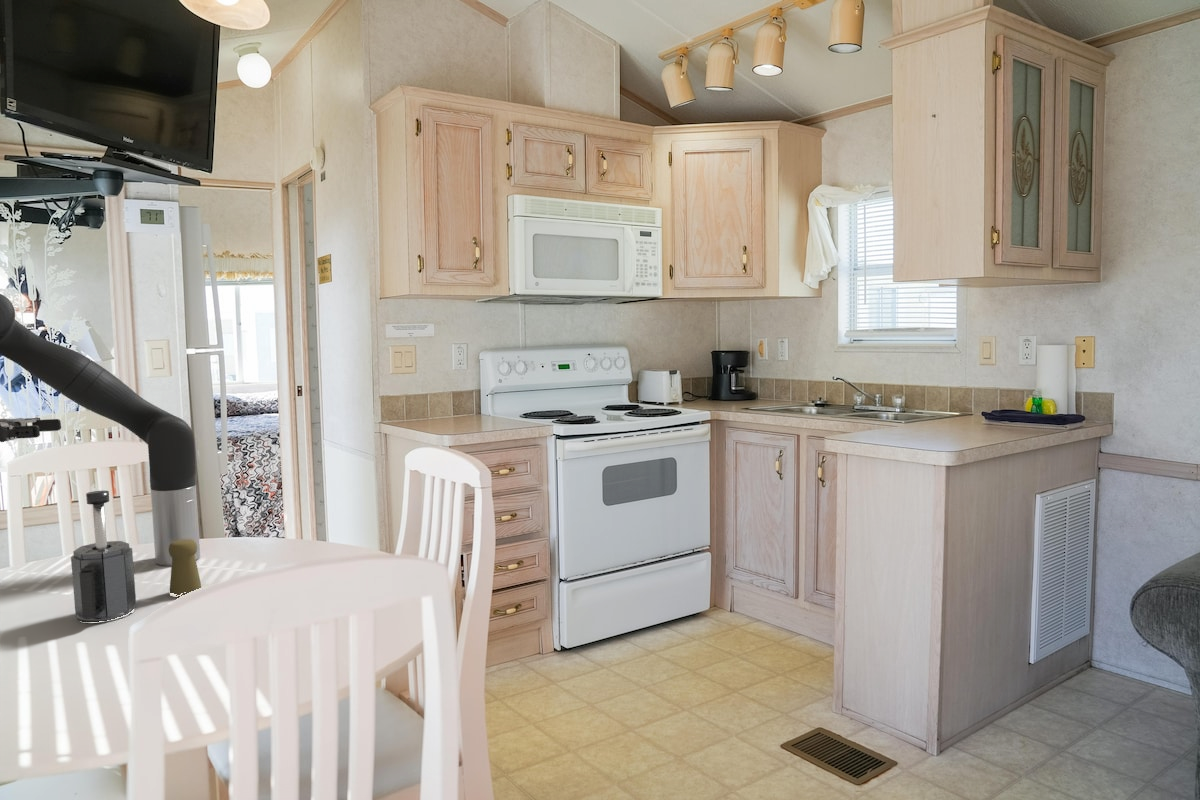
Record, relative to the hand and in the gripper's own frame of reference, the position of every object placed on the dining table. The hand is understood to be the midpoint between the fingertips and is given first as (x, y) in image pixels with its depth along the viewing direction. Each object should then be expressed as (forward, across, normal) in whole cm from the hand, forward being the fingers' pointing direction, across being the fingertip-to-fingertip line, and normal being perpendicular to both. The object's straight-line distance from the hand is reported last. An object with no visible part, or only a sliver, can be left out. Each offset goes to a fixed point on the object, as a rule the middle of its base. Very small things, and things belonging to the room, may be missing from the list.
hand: (49, 427), depth 155 cm
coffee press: (+9, -7, +35) cm, 37 cm away
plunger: (+9, -6, +33) cm, 35 cm away
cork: (+20, +4, +36) cm, 41 cm away
